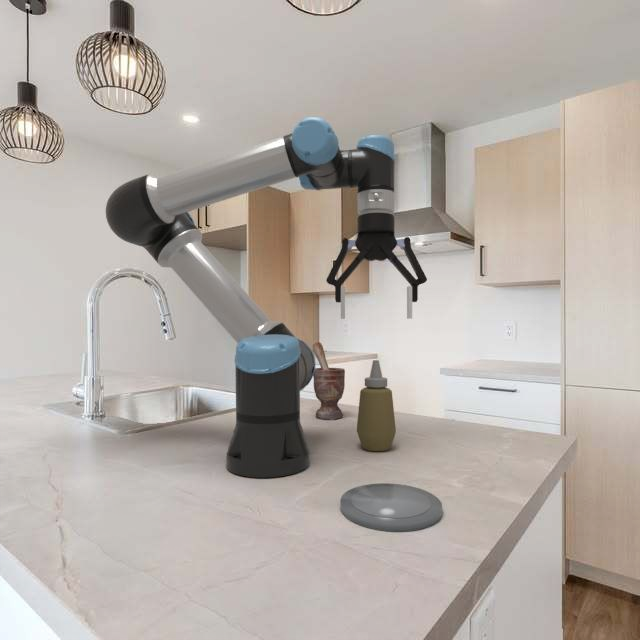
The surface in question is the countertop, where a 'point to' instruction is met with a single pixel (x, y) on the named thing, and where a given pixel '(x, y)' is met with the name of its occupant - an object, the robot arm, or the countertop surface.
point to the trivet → (391, 507)
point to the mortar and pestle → (328, 386)
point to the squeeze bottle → (376, 412)
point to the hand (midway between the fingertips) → (376, 318)
